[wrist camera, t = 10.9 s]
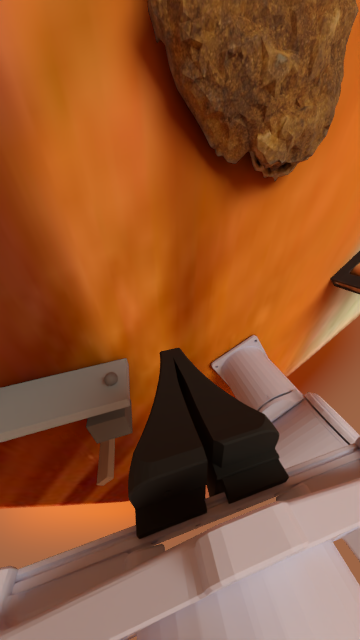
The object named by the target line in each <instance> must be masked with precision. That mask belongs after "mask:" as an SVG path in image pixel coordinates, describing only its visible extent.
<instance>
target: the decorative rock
mask: <svg viewBox="0 0 360 640" xmlns="http://www.w3.org/2000/svg"><path fill="white" fill-rule="evenodd" d="M148 11H149V15H150V18H151V21H152V25H153V28H154V33H155V38H156V42H157V43H158V42H159V41H160V40H161V41H162V42H163V43H164V44H165V48H166V52H167V57H168V62H169V67H170V70H171V73H172V76H173V79H174V82H175V85H176V88H177V90H178V91H179V93H180V95H181V96H182V98H183V99H184V101H185V103H186V104H187V106H188V108H189V109H190V111H191V112H192V114H193V115H194V117H195V119H196V120H197V122H198V124H199V125H200V127H201V129H202V131H203V132H204V134H205V136H206V138H207V140H208V143H209V145H210V147H212V148H214V149H215V152H216V155H217V156H222V155H223V156H224V158H225V159H226V161H227V162H230V163H234V164H236V163H237V162H238V161H239V160H240V159H241V158H242V157H243V156H244V155H245V154H246V153H247V152H249V153H250V155H251V159H252V164H253V167H254V169H255V170H256V171H262V173H263V176H264V178H265V177H269V176H270V177H274V180H275V181H276V179H277V178H278V177H280V176H284V175H288V174H289V173H290V172H292V171H293V169H294V168H295V166H296V165H297V164H298V163H300V162H302V161H305V160H308V158H309V157H310V156H312V155H313V153H314V152H315V150H316V149H317V147H318V146H319V144H320V143H321V142H322V140H323V139H324V138H325V136H326V135H327V132H328V129H329V127H330V124H331V122H332V120H333V117H334V113H335V107H336V105H337V103H338V100H339V96H340V92H341V82H342V79H343V72H344V56H345V51H346V44H347V41H348V38H349V35H350V32H351V28H352V25H353V23H354V20H355V18H356V15H357V13H358V7H357V4H356V0H148Z"/></svg>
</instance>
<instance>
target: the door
mask: <svg viewBox="0 0 360 640" xmlns="http://www.w3.org/2000/svg"><path fill="white" fill-rule="evenodd" d="M128 406H130V392H129V365H128V362H127V359H126V358H125V359H120V360H116V361H112V362H108V363H104V364H99V365H95V366H91V367H87V368H83V369H78V370H74V371H70V372H66V373H62V374H57V375H53V376H49V377H45V378H41V379H36V380H32V381H28V382H24V383H20V384H15V385H11V386H7V387H3V388H0V442H3V441H7V440H10V439H14V438H17V437H21V436H25V435H28V434H32V433H35V432H39V431H43V430H46V429H50V428H53V427H57V426H60V425H64V424H68V423H71V422H75V421H78V420H82V419H85V418H89V417H93V416H96V415H100V414H103V413H107V412H110V411H114V410H118V409H121V408H125V407H128Z"/></svg>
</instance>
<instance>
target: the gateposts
mask: <svg viewBox="0 0 360 640" xmlns="http://www.w3.org/2000/svg"><path fill="white" fill-rule="evenodd" d="M114 451H115V438H114V439H111V440H107V441H104V442H101V443H100V454H99V464H98V475H97V485H102V486H103V485H105V484H106V483H107V482H109V481H110V480H112V479H113V478H114Z"/></svg>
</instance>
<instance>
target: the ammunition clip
mask: <svg viewBox="0 0 360 640" xmlns="http://www.w3.org/2000/svg"><path fill="white" fill-rule="evenodd" d="M331 281H332V282H333V284H334V286H336V287H339V288H342V289H345V290H348V291H351V292H354V293H357V294H360V251H359V252H358V253H357V254H356V255H355V256H354V257H353V258H352V259H351V260H350V261H348V262H347V263H346V264H345V265H344V266H343V267H342V268H341V269H340V270H339V271H338V272H337V273H336V274H335V275H334V276H333V277H331Z"/></svg>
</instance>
